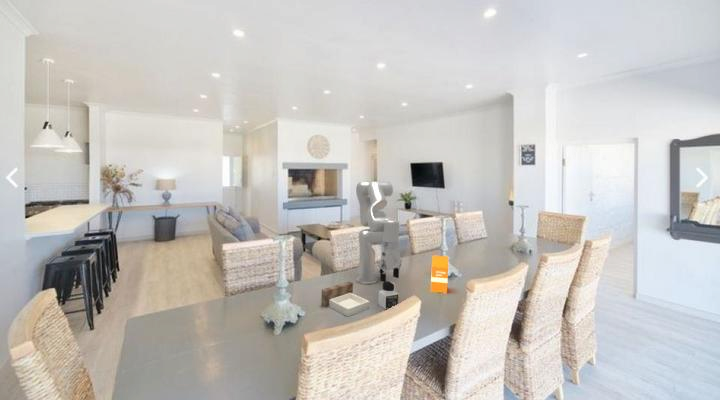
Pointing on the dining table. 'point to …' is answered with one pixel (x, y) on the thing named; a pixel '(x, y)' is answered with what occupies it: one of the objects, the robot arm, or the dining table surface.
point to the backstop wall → (335, 292)
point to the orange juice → (439, 274)
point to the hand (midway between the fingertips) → (389, 279)
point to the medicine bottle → (388, 295)
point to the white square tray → (349, 304)
